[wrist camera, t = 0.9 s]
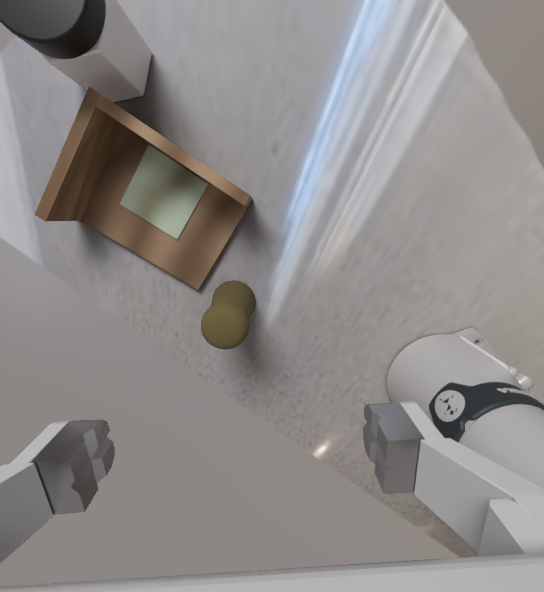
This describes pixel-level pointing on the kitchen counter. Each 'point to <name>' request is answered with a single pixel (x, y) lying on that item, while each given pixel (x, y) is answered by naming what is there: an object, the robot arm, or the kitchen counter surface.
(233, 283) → the olive pepper mill
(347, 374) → the kitchen counter surface
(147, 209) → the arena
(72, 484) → the robot arm
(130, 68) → the jar
